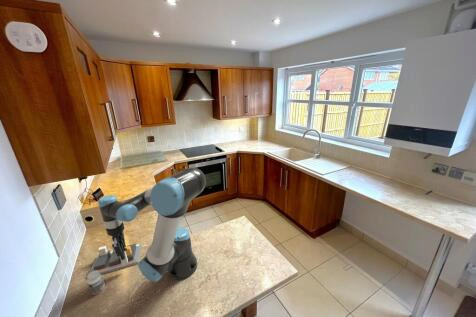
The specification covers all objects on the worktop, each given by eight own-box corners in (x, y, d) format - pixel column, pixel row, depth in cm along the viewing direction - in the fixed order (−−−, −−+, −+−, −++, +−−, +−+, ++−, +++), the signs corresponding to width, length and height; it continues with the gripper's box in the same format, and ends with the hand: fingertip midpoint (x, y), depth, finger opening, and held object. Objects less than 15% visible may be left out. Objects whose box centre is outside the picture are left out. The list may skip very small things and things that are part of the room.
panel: (138, 263, 108) (135, 251, 106) (88, 278, 101) (83, 265, 98) (141, 245, 123) (139, 234, 120) (98, 256, 115) (94, 245, 113)
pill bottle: (90, 290, 94) (84, 274, 91) (104, 282, 98) (98, 267, 95) (92, 297, 90) (86, 281, 87) (106, 289, 94) (101, 273, 91)
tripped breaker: (131, 255, 109) (129, 248, 108) (124, 256, 108) (123, 250, 107) (131, 252, 111) (130, 245, 110) (125, 253, 110) (123, 247, 109)
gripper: (119, 230, 91) (130, 269, 98) (125, 216, 103) (134, 252, 109) (101, 234, 89) (114, 274, 95) (109, 219, 100) (119, 256, 107)
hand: (125, 262), depth 102 cm, fingers closed
